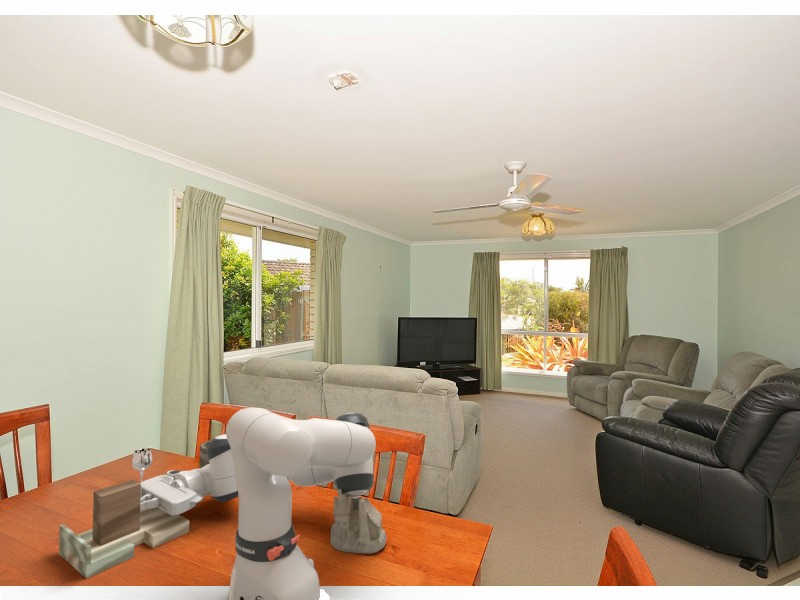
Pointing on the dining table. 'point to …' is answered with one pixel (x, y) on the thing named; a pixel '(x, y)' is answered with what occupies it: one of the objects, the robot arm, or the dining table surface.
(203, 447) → the mug
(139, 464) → the wineglass
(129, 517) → the walnut block
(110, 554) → the cream block stand
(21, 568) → the dining table surface
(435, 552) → the dining table surface
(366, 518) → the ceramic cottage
